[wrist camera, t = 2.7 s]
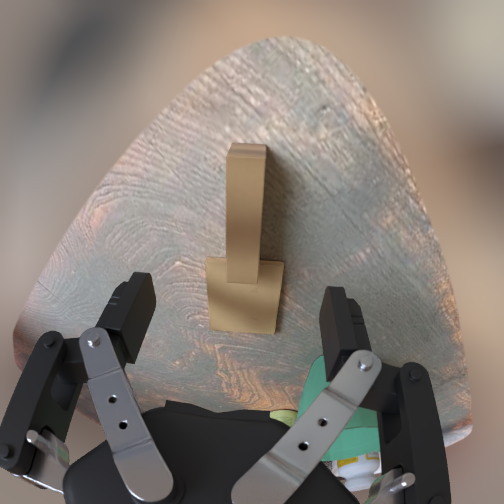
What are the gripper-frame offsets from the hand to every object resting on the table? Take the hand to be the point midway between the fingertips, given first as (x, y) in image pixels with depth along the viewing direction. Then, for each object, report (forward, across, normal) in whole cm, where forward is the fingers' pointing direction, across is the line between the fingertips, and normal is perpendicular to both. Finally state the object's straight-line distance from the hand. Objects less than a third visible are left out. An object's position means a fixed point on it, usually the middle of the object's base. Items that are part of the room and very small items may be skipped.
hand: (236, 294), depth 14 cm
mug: (+9, -12, +20) cm, 25 cm away
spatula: (+9, 0, +4) cm, 10 cm away
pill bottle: (+9, -18, +36) cm, 41 cm away
